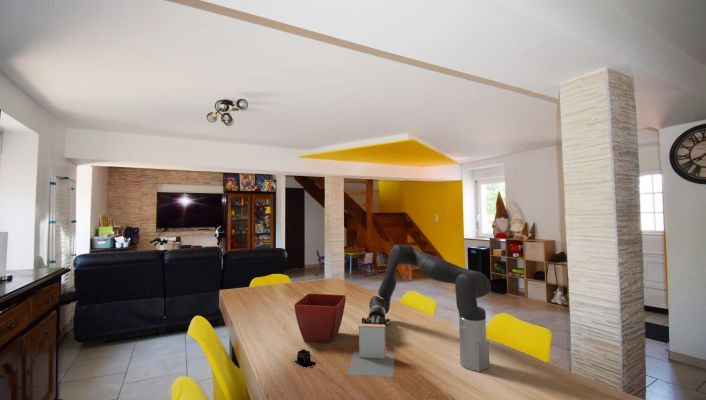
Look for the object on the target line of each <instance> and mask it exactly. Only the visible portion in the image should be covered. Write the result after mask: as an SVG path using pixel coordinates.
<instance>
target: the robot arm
mask: <svg viewBox="0 0 706 400" xmlns="http://www.w3.org/2000/svg"><path fill="white" fill-rule="evenodd" d="M386 263H387V265H386V267H385V268H386V269H385V272H384V277H383V279H382V281H381V284H380V285H379V288H378V290H377V293H378V295H379V296H378V295H373V296H372V297H371V298H370V300H369V306H368V307H369V312H368V316H367V317H361V324H380V325H385V328H386V327H389V326H390V325H391V319H390V318H386V314H388V313H389V312H390V307H391V298H392V296H393V293H394V291H395V289H396V286H397V277H396V270H397V268H398V266H399V265H409V266H414V267H417V268H419V270H420V272H421V274H423V275H424V276H425V277H428V278H430V279H432V280H434V281H438V282H442V283H448V284H452V285H453V284H454V285H455V286H454V287H455V301H456V308H457V311H458V323H459V324H458V326H459V327H458V328H459V334H458V335H459V361H460V362H459V363H460V366H462V367H463V368H465V369H468V370H471V371H476V372H478V373H479V372H481V371H484V370H487V369H489V368H490V367H491V366H490V364H491V363H490V341H489V340H488V339H487V315H486V314H487V312H486V309H484V308H482V307H480V306H478V302H477V301H478V300H477V299H479V298H482V297H485V296H487V295H489V293H490V292H491V290H492V286H491V284H492V283H491V282H490V280H489V278H488V277H487V275H485V274H484V273H482V272H481V271H478V270H477V271H476V270H473V269H468V268H464V267H461V266H459V265H457V264H454V263H452V262H449V261H448V260H445V259H442V258H441V257H439V256H435V255H432V254H429V253H425V252H422V251H421V250H419V249H417V248H415V247H413V246H412V245H410V244H409V245H408V244H395V245H393V246H392V248H391V250H390V252H389V256H388V260H387V262H386Z"/></svg>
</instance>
